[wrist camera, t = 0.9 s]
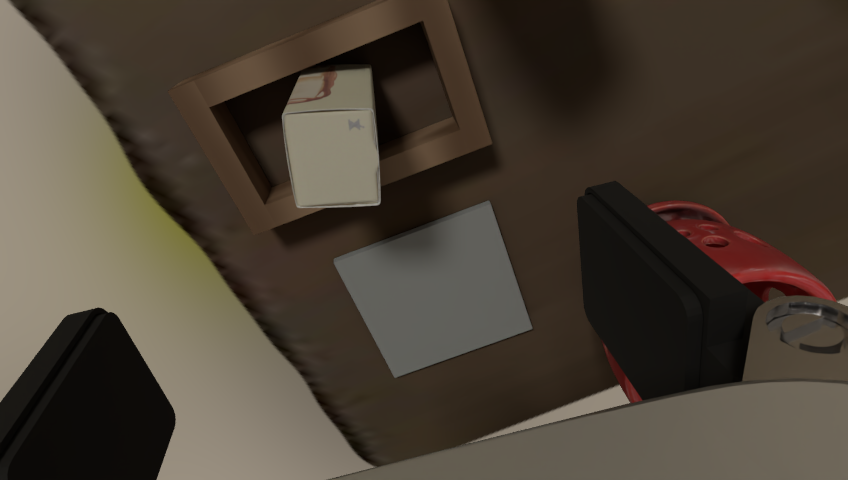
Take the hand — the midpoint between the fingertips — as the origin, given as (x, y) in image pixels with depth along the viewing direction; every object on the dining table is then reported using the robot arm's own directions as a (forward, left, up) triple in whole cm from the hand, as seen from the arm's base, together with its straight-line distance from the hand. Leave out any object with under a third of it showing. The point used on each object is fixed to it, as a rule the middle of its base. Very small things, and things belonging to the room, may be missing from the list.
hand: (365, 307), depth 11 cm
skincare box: (+2, +2, -26) cm, 26 cm away
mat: (+1, +18, -26) cm, 31 cm away
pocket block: (+2, +2, -26) cm, 26 cm away
